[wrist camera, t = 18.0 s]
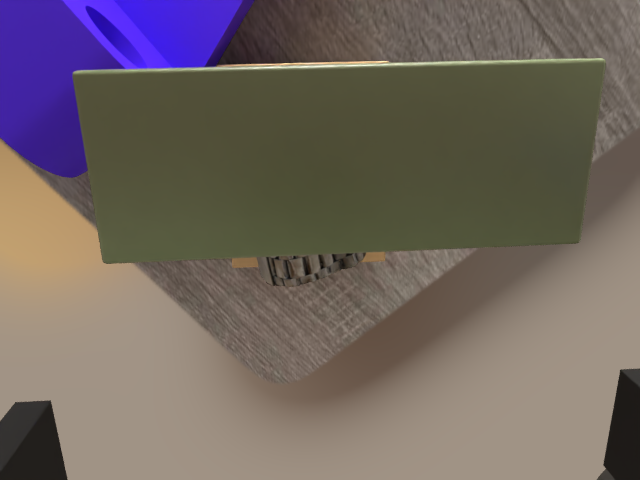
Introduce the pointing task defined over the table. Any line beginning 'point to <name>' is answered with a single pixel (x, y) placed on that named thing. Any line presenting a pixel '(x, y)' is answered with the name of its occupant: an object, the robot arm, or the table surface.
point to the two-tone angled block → (337, 157)
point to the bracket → (93, 60)
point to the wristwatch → (304, 267)
